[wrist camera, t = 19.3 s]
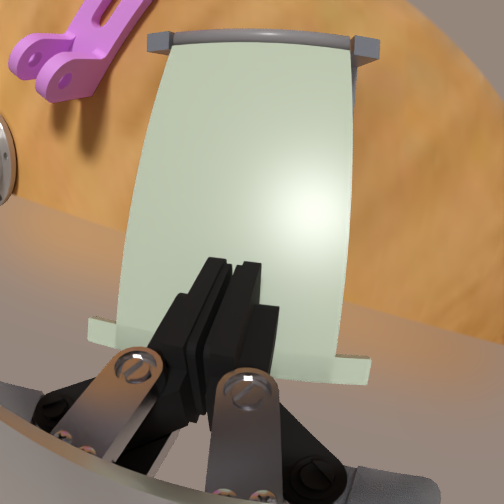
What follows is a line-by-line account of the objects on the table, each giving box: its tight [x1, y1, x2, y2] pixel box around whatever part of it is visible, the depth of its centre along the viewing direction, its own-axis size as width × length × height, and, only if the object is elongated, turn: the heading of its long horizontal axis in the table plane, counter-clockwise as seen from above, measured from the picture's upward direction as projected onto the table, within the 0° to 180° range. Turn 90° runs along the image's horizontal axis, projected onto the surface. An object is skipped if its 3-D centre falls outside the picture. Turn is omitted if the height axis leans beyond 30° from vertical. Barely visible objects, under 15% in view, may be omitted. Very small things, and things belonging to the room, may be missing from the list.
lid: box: [88, 29, 372, 385], centre depth 12 cm, size 11×15×1 cm
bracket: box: [8, 0, 153, 103], centre depth 16 cm, size 13×6×7 cm, turn 141°
